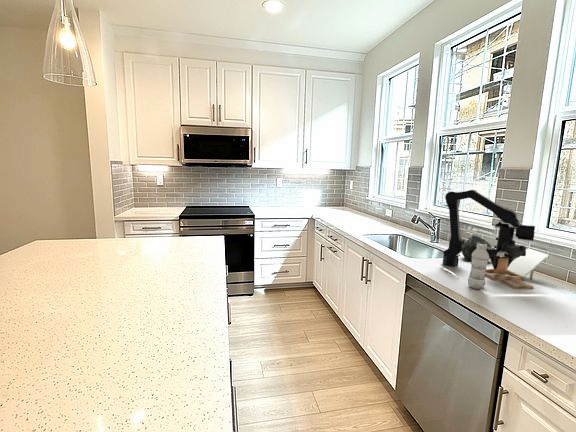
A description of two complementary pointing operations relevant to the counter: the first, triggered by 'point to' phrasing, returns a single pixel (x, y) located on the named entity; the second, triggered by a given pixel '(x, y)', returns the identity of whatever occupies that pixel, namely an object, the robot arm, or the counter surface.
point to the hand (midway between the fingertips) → (500, 268)
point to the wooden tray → (508, 276)
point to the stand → (517, 284)
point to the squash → (472, 246)
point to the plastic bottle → (478, 266)
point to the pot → (502, 265)
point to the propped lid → (527, 263)
